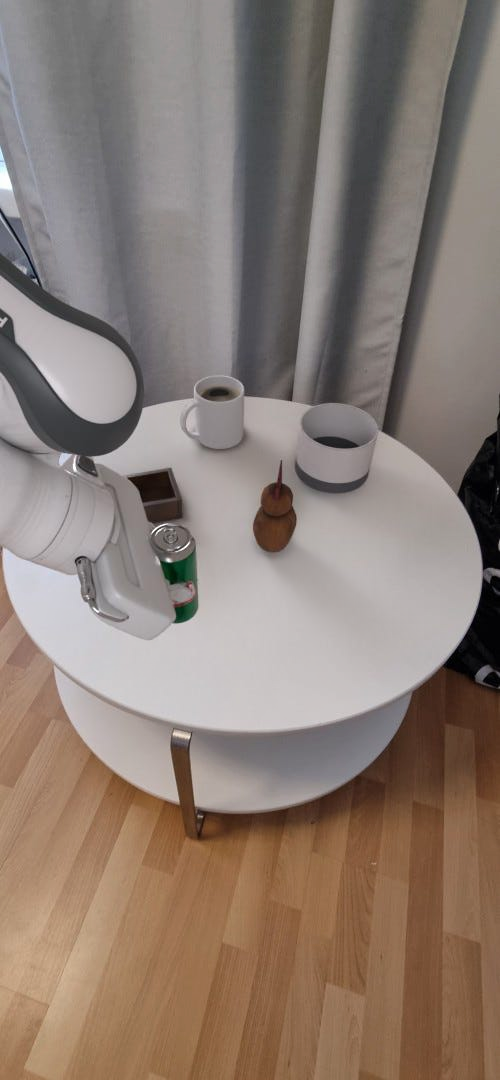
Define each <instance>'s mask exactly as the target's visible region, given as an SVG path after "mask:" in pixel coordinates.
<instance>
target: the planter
mask: <svg viewBox="0 0 500 1080" xmlns="http://www.w3.org/2000/svg"><path fill="white" fill-rule="evenodd" d="M379 431H380V430H379V424H378V423H377V421H376V420H375V418H374V416H372V415H371V414H370V413H368V412H366V410H363V409H362V408H359V407H357V406H353V405H351V404H348V403H341V402H339V403H338V402H326V403H320V404H316V405H314V406H312V407H310V408H308V409H307V410H305V411H304V412H303V413H302V415H301V417H300V419H299V423H298V434H297V443H296V450H295V460H294V470H295V474H296V475H297V477H298V478H299V479H300V481H301V482H302V483H304V485H307V486H308V487H310V488H312V489H314V490H316V491H319V492H323V493H328V494H345V493H350V492H353V491H355V490H357V489H359V488H361V487H362V486H363V485H364V484H365V483H366V481H367V480H368V477H369V475H370V470H371V465H372V462H373V461H372V460H373V457H374V453H375V448H376V444H377V441H378V436H379Z"/></svg>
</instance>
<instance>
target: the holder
mask: <svg viewBox="0 0 500 1080" xmlns="http://www.w3.org/2000/svg"><path fill="white" fill-rule="evenodd" d="M122 476H124V477H125V478H127V479H128V480H130V481H131V482H132V483H133V484H134V485H135V487H136V488H137V489H138V490H139V493H140V497H141V500H142V504H143V507H144V510H145V514H146V517H147V520H148V521H149V522H151V523H152V524H153V525H154V524H159V523H164V522H170V521H176V520H180V519H184V513H183V511H184V510H183V499H182V496H181V493H180V490H179V487H178V484H177V480H176V477H175V474H174V472H173V468H172V467H166V468H159V469H153V470H146V471H141V472H135V473H129V474H123V475H122Z"/></svg>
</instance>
